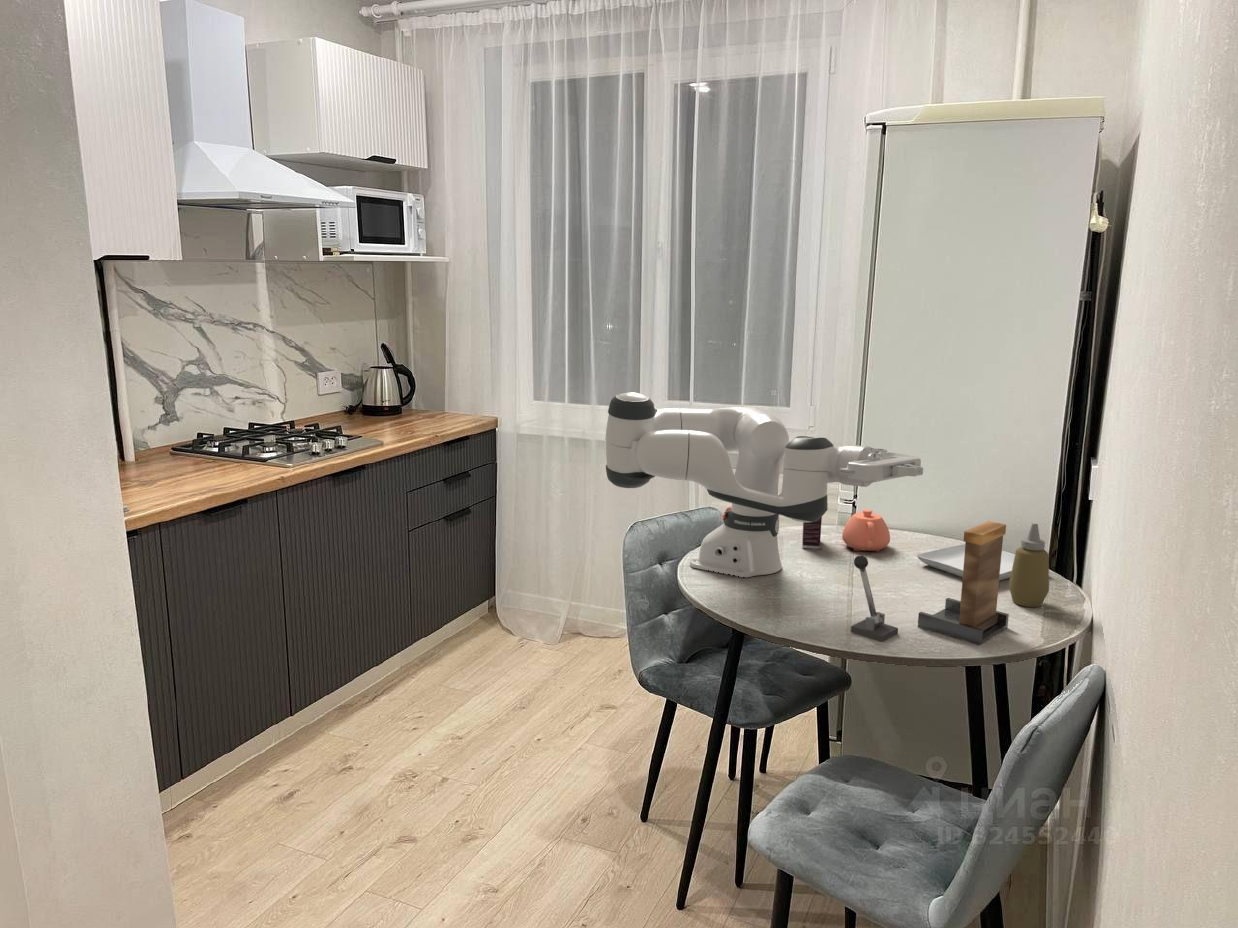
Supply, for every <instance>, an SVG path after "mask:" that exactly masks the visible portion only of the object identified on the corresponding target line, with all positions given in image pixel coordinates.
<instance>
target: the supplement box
mask: <svg viewBox="0 0 1238 928" xmlns="http://www.w3.org/2000/svg"><path fill="white" fill-rule="evenodd" d="M822 520H823V516H822V517H821V518H820V519H818V520H817V521H816V522H808V523H805V522H802V543H801V545H802V549H807V550H820V549H821V534H822Z"/></svg>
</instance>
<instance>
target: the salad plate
mask: <svg viewBox="0 0 1238 928" xmlns="http://www.w3.org/2000/svg"><path fill="white" fill-rule="evenodd" d="M964 556H965V543H962V544H955V545H951V546H946V547H942V548H937V549H934V550H929V551H923V552H921V553H917V554H916V557H917V558H918V559H919V560H920V561H921V562H922V563H924V564H925V565H927V566H929V567H932V568H935V569H938V570H939V571H940V570H941V571H943V572H945V571H946V572H945V573H948V574H951V575H954V576H957V577H960V578H963V568H964ZM1014 558H1015V553H1011V552H1008V551H1005V550H1002V554H1001V565H1000V576H999V581H1003V580H1006V579H1010V577H1011V572H1012V567H1013V562H1014Z"/></svg>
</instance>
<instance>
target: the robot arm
mask: <svg viewBox="0 0 1238 928" xmlns="http://www.w3.org/2000/svg"><path fill="white" fill-rule="evenodd" d="M607 413H608V416H607V421H606V422H607V423H606V429H605V457H606V458H605V459H606V464H605V473H606V476H607V477H606V478H607V480H608V481H609V482H610V483H611V484H612V485H614V486H616V487H618V488H619V487H620V488H624V489H637V488H641V487H643V486H644V485H646V484H648V483H649V482H650V480H651V479H654V478H655V477H659V478H664V479H669V480H677V481H686V482H687V481H689V482H693V483H697V484H699V485H701V486H702V487H704V489H706V491H707V493H708V495H710V497H712V498H715V499H718V500H719V501H723V502H727V503H731V506H728V507H727V508H726V509H725V511H724V512H723V514H722V521H723V524H721V525H719V526H718V527H717V528H715V529H713V530H712V531H711V532H709V533H708V534H706V536H705V537H704V538H703V540H702V541H701V544H700V548H699V550H698V552H696V553H694V554H693V555H692V557H691V558H690V563H689V565H690V567H691V568H694V569H698V570H704V571H708V570H709V571H708V572H713V571H714V573H718V572H719V573H718V574H723V573H724V575H728V574H730V575H729V576H733V575H735V576H734V577H738V576H739V577H738V578H743V577H745V578H750V577H755V576H763V575H764V576H765V575H770V574H774V573H777V572H780V571H781V570H782V569H783V566H782V562H781V556H780V553H779V544H778V534H779V530H780V516H783V517H785V518H788V519H790V520H792V521H796V522H799V523H803V522H805V523H808V522H816V521H817V520H818V519H820V518H821V517H822V518H823V516H824V515H825V513H827V512H828V508H829V507H828V503H829V502H828V483H829V484H831V483H839V484H841V485H844V486H852V487H853V486H855V487H865V488H867V487H869V486H871V485H872V484H873V483H877V482H878V483H879V482H881V481H888V480H893V479H898V478H903V477H905V478H906V477H914V478H915V477H919V476H923V474H924V468H923V466H921V463H922V461H921V458H920V457H917V456H914V455H908V454H902V453H896V452H888V450H887V449H885V448H874V447H871V446H866V445H856V444H855V445H854V444H846V445H838V444H836V443H832V442H831V441H830V440H829V439H828V438H827V437H813V436H805V435H804V436H803V435H800V436H798V435H797V436H796V437H794V438H793V439H791V440H790V436H789V433H788V431H787V429H786V427H785V425H784V424H783V422H782V420H780V419H779V418H777V417H776V416H775V415H773V414H771V413H768V412H767V411H765V410H762V409H760V408H758V407H754V406H737V407H736V406H735V407H719V408H684V407H683V408H682V407H680V408H678V407H673V408H672V407H671V408H670V407H669V408H668V407H667V408H658V407H656V406H655V404H654V402H653V400H652V399H651V398H650V397H649V396H647V395H644V394H642V393H639V392H633V391H632V392H631V391H630V392H624V393H619V394H616V395H615V396H614V397H612V398H611V400H610V402H609V405H608V409H607ZM731 452H732V453H734V452H736V453H737V452H738V455H737V456H738V457H737V463H736V469H735V471H734V470H733V467H732V462H731V460H730V457H729V454H728V453H731ZM782 466H783V467H782ZM782 468H783V471H782V472H783V473H782V487H781V492H780V494H779V481H780V480H779V479H780V476H781V475H780V473H781V470H782Z"/></svg>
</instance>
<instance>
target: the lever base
mask: <svg viewBox="0 0 1238 928" xmlns="http://www.w3.org/2000/svg"><path fill="white" fill-rule="evenodd" d="M876 614H879V615H881V617H882V619H883V621H882V623H881V624H879V625H877V626H875V627H874V625H875V619H874V618H870V617H871V616H866V617H865V619H863V620H860V621H859V622H857V623H855V624H852V625H851V626H850V632H851V633H853V632H854V633H853V634H857V635H860V636H863V637H867V638H869V639H872V640H875V641H878V642H881V643H882V642H885V641H887V640H888V639H891V638H892V637H894V636H895V635H898V634H899V627H896V626H892V625H889V624H887V623H885V618H886V614H885V613H883V612H880V611H876Z"/></svg>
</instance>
